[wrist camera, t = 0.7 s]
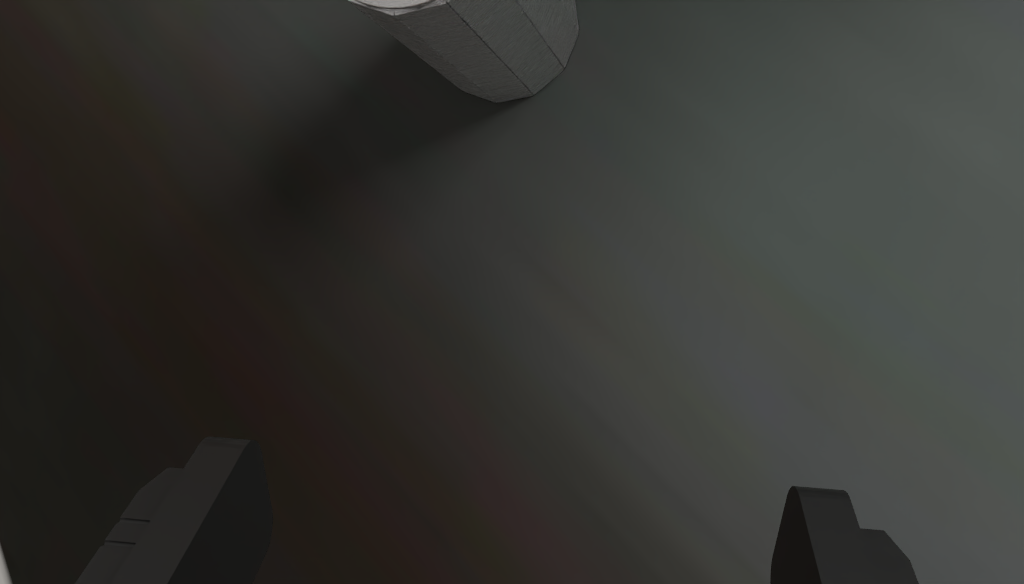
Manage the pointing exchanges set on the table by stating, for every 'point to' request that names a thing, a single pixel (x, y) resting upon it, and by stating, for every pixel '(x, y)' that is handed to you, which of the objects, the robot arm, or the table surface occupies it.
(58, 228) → the table surface
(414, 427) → the table surface
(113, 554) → the robot arm
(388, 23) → the faceted metal canister
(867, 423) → the table surface
